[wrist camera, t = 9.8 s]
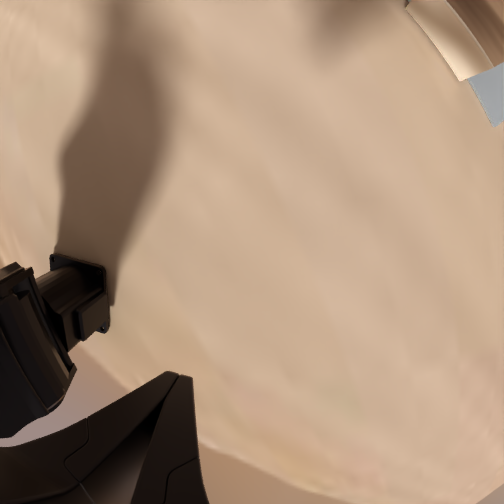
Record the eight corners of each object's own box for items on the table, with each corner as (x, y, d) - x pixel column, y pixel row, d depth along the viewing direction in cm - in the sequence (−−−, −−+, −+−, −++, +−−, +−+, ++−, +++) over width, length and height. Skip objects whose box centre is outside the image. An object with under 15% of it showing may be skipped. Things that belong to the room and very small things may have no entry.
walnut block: (492, 68, 10) (542, 40, 8) (426, -18, 9) (491, -30, 7) (459, 81, 15) (513, 51, 12) (404, 8, 14) (469, -11, 11)
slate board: (492, 127, 16) (495, 126, 15) (376, -31, 13) (377, -33, 13) (556, 76, 12) (558, 76, 11) (470, -46, 9) (471, -48, 9)
